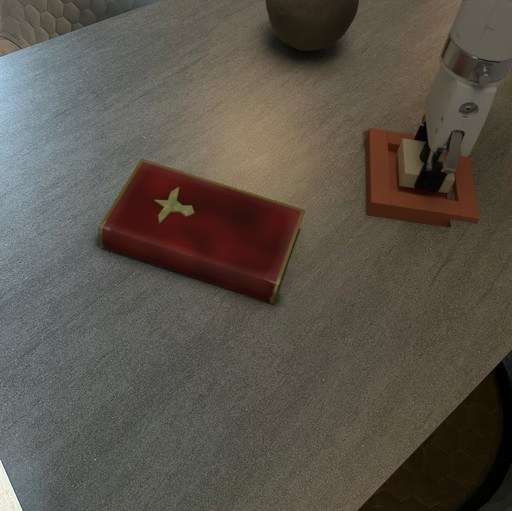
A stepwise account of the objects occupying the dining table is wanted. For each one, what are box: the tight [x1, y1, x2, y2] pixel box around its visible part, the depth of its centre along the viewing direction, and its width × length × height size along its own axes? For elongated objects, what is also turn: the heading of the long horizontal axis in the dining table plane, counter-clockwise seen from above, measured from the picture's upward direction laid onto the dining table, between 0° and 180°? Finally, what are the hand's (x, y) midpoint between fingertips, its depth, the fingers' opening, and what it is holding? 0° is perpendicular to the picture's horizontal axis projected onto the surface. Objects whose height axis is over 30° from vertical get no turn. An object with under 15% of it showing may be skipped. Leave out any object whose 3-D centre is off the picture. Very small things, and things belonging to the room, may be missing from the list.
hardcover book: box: [97, 158, 306, 305], centre depth 73 cm, size 12×21×4 cm, turn 73°
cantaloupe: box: [265, 0, 360, 52], centre depth 95 cm, size 14×14×15 cm
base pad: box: [364, 127, 481, 228], centre depth 84 cm, size 14×14×2 cm
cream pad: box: [397, 138, 455, 194], centre depth 82 cm, size 6×6×4 cm
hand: (424, 168), depth 83 cm, fingers closed on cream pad, 6 cm apart
